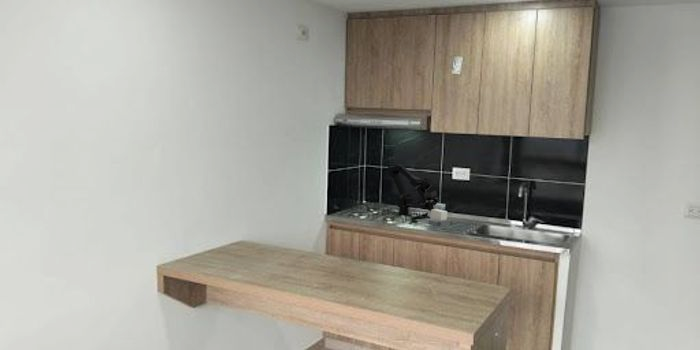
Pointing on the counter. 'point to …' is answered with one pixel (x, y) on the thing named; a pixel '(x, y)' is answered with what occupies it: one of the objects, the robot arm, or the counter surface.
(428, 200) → the robot arm
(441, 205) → the light bulb box
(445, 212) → the white rectangular block
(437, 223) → the socket board
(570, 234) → the counter surface
